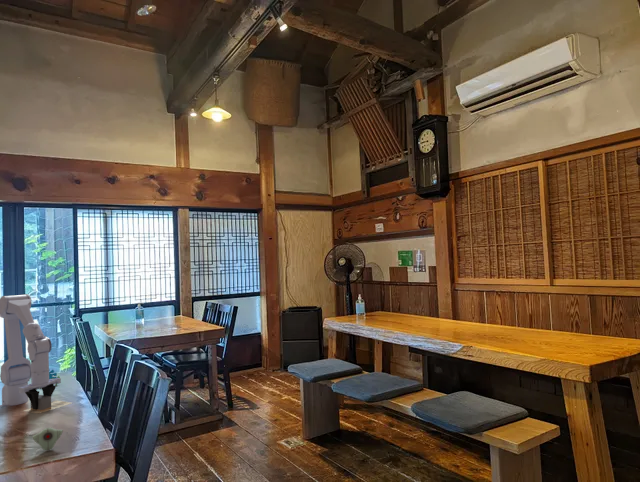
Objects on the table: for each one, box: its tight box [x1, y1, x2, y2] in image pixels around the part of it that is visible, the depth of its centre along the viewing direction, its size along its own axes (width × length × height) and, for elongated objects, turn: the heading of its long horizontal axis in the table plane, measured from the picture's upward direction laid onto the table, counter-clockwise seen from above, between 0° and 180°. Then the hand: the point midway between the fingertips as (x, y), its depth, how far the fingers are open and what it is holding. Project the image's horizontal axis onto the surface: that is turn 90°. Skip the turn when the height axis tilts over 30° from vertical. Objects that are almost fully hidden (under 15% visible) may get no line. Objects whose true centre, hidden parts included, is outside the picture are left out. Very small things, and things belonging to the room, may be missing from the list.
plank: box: [23, 400, 72, 415], centre depth 173 cm, size 10×13×1 cm
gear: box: [49, 369, 61, 379], centre depth 210 cm, size 11×6×10 cm
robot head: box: [31, 427, 64, 451], centre depth 133 cm, size 8×4×7 cm, turn 121°
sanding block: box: [30, 394, 52, 411], centre depth 170 cm, size 7×4×4 cm, turn 62°
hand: (41, 407), depth 170 cm, fingers closed on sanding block, 4 cm apart
